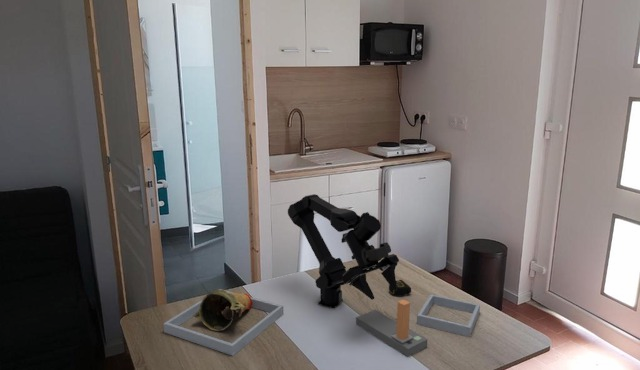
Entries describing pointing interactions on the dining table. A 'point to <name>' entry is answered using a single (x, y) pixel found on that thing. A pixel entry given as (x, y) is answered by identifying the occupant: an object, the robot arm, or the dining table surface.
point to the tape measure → (400, 288)
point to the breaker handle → (403, 322)
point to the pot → (222, 308)
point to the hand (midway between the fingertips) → (384, 294)
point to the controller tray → (448, 325)
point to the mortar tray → (217, 344)
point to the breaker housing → (390, 332)
